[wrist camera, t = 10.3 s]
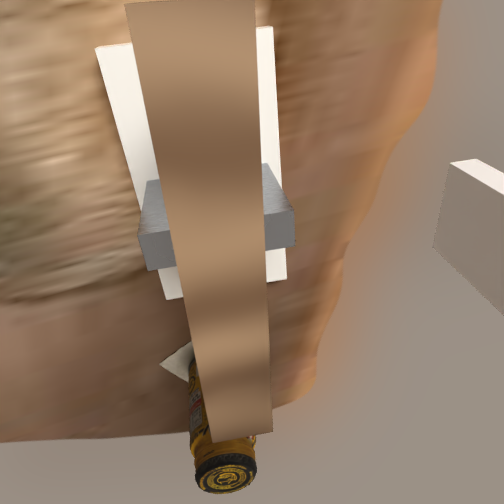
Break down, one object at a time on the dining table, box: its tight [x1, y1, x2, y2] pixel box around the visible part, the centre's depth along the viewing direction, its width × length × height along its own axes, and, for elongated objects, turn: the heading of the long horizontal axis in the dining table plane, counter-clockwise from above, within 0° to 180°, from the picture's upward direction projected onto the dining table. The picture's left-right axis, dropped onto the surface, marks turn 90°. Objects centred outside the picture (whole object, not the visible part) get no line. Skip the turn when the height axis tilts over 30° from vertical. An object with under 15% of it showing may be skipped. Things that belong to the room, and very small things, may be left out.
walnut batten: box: [124, 0, 273, 443], centre depth 21 cm, size 24×4×5 cm, turn 3°
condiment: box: [159, 341, 257, 494], centre depth 37 cm, size 7×8×12 cm
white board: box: [95, 26, 287, 300], centre depth 30 cm, size 20×11×2 cm, turn 6°
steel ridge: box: [137, 163, 295, 271], centre depth 26 cm, size 2×9×8 cm, turn 96°
